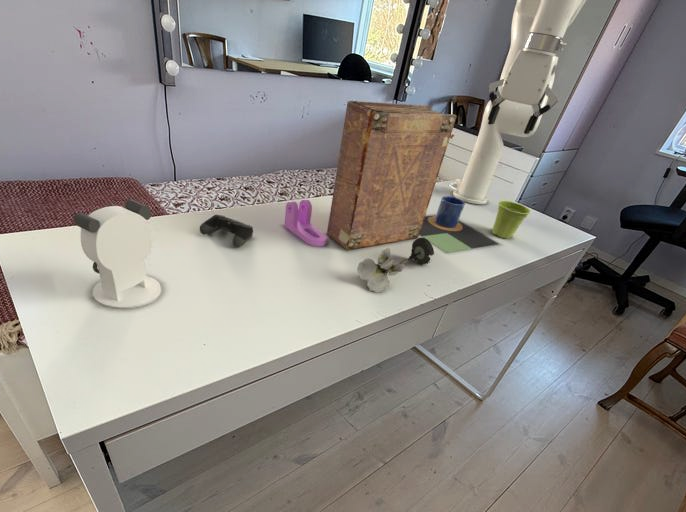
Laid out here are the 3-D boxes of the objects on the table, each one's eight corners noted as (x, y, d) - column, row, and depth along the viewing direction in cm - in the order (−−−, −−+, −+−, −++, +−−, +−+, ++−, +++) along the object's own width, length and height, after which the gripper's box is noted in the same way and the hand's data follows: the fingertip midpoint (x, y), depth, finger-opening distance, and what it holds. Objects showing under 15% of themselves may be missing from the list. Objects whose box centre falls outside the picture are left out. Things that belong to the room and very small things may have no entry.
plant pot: (512, 231, 125) (525, 204, 119) (520, 243, 118) (535, 215, 112) (483, 226, 124) (495, 198, 119) (490, 238, 117) (503, 209, 112)
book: (396, 224, 115) (429, 105, 95) (418, 238, 109) (458, 115, 90) (326, 235, 102) (347, 100, 83) (346, 251, 97) (374, 111, 77)
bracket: (284, 226, 103) (286, 199, 98) (301, 223, 106) (304, 197, 101) (313, 247, 96) (317, 220, 91) (330, 244, 99) (335, 217, 94)
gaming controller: (196, 233, 92) (198, 211, 90) (216, 230, 98) (219, 210, 96) (238, 249, 89) (241, 227, 86) (256, 246, 95) (259, 225, 93)
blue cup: (429, 219, 122) (437, 196, 117) (445, 218, 125) (453, 195, 120) (444, 229, 118) (453, 205, 113) (460, 227, 121) (469, 204, 116)
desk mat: (396, 219, 118) (396, 219, 118) (447, 214, 128) (447, 214, 128) (446, 252, 105) (446, 252, 105) (499, 244, 115) (499, 244, 115)
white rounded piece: (134, 267, 78) (119, 190, 68) (176, 288, 74) (168, 210, 65) (78, 291, 69) (52, 207, 60) (123, 316, 66) (104, 231, 56)
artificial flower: (433, 275, 97) (453, 244, 88) (367, 307, 86) (383, 275, 78) (410, 251, 100) (427, 219, 91) (343, 279, 89) (356, 246, 81)
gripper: (582, 53, 90) (544, 136, 101) (510, 41, 97) (482, 120, 108) (576, 51, 86) (537, 138, 97) (501, 38, 92) (472, 121, 103)
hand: (508, 128), depth 102 cm, fingers open, 9 cm apart
